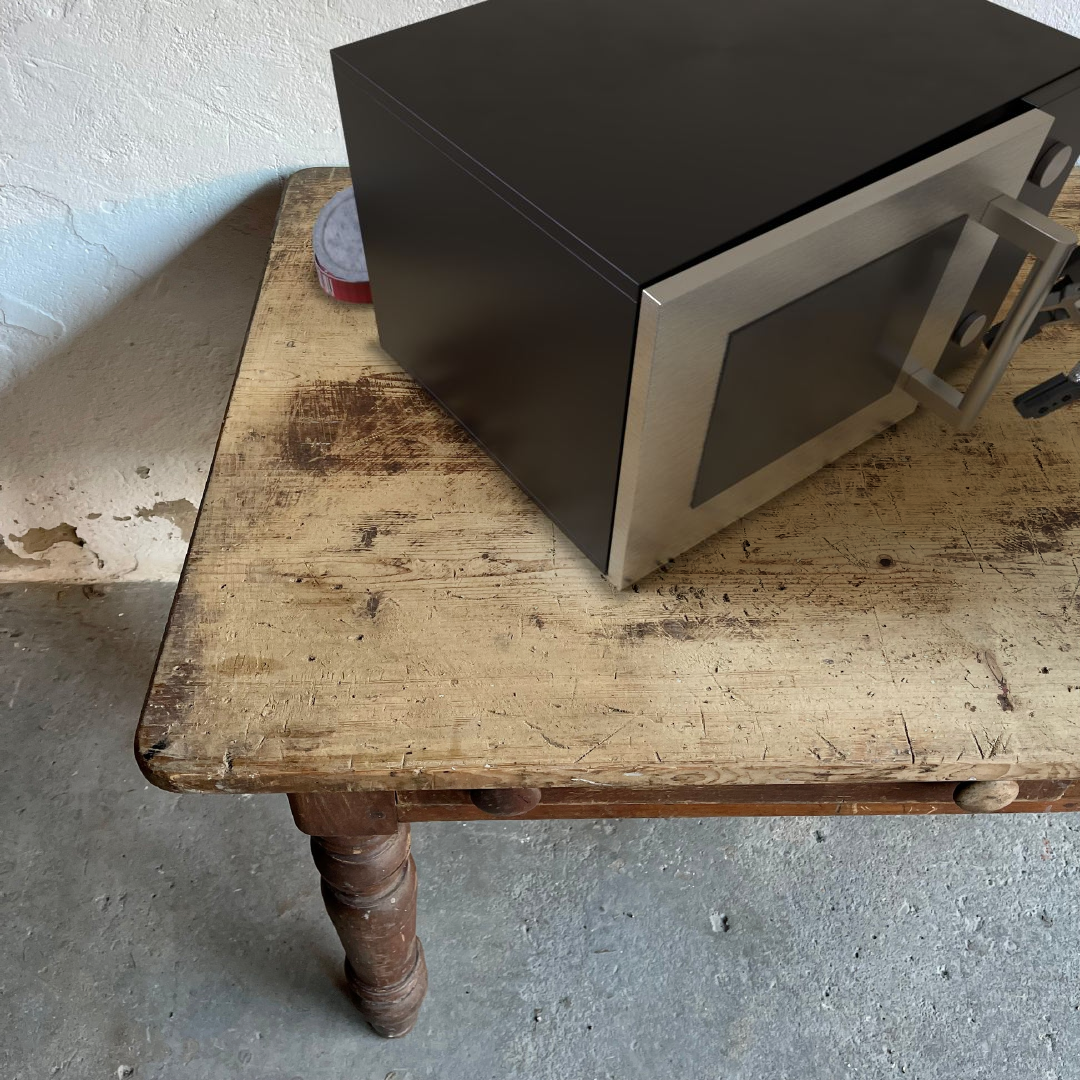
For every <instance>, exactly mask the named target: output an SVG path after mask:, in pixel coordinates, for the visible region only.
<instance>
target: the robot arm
mask: <svg viewBox="0 0 1080 1080" xmlns="http://www.w3.org/2000/svg"><path fill="white" fill-rule="evenodd" d="M1058 280H1059V281H1058ZM1004 320H1005V318H1004V319H1003V320H1001V321H999V322H997V323H996V324H994V325H991V326H990V328H989V330H988V331H987V333H986V334H985V335H984V336H983V337H982V341H983V342H982V344H983V345H984V347H985V348H986V350H987V351H988V350H989V348H990V346H991V344H992V342H993V340H994V338H995V336H996V335H997V333H998V331H999V329H1000V327H1001V325H1002V323H1003V321H1004ZM1069 323H1072V324H1075V325H1080V244H1079V245H1078V246H1076V247H1075V248H1074V250H1073V252H1072V253H1071V255H1070V257H1069V259H1068V260H1067V262H1066V264H1065V266H1064V267H1063V269H1062V271H1061V273H1060V275H1059V276H1058V278H1057V280H1056V282H1055V283H1054V285H1053V287H1052V289H1051V290H1050V292H1049V294H1048V296H1047V297H1046V299H1045V301H1044V303H1043V305H1042V306H1041V308H1040V310H1039V312H1038V313H1037V315H1036V317H1035V319H1034V320H1033V322H1032V324H1031V326H1030V328H1029V329H1028V331H1027V333H1026V335H1025V336H1024V338H1023V340H1022V342H1021V343H1020V345H1021V344H1023V343H1024V342H1026V341H1028V340H1030V339H1031V338H1034V337H1035V336H1037V335H1039V334H1040V333H1042V332H1043V329H1042V328H1041V327H1043V328H1049V327H1053V326H1054V327H1055V326H1059V325H1064V324H1069ZM1078 400H1080V360H1079V361H1078V362H1077V363H1076V364H1075V365H1074V366H1073V367H1072V369H1070V371H1069V372H1068V374H1067V375H1066V374H1065V373H1064V371H1062V372H1060V373H1057V374H1056V375H1054V376H1052V377H1050V378H1049V379H1047V380H1045V381H1043V382H1041V383H1039V384H1037V385H1035V386H1033V387H1032V388H1029V389H1028V390H1026V391H1024V392H1022V393H1020V394H1018V395H1016V396H1015V397H1014V398H1013V399H1012V404H1013V406H1014V408H1015V410H1016V412H1018V414H1019V415H1020V416H1021V418H1022V419H1023V420H1028V419H1029V420H1030V419H1032V418H1033V419H1035V420H1037V419H1041V418H1044V417H1046V416H1048V415H1050V414H1052V413H1054V412H1056V411H1058V410H1059V409H1061V408H1063V407H1066V406H1067V405H1070V404H1071V403H1073V402H1075V401H1078Z"/></svg>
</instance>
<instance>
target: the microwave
mask: <svg viewBox="0 0 1080 1080" xmlns="http://www.w3.org/2000/svg"><path fill="white" fill-rule="evenodd" d="M329 56H330V60H331V68H332V69H331V70H332V74H333V75H332V76H333V80H334V86H335V91H336V98H337V105H338V109H339V116H340V121H341V127H342V132H343V133H342V134H343V138H344V144H345V150H346V156H347V162H348V166H349V173H350V178H351V183H352V184H351V185H353V191H354V197H355V202H356V208H357V214H358V220H359V226H360V231H361V237H362V243H363V249H364V254H365V260H366V266H367V272H368V278H369V283H370V289H371V295H372V301H373V302H372V306H373V312H374V317H375V323H376V329H377V334H378V335H377V336H378V340H379V346H380V347H381V349H382V350H383V351H384V352H385V353H386V354H387V355H388V356H389V357H390V359H392V360H393V361H394V362H395V363H396V364H397V365H398V366H399V367H400V368H401V369H402V371H404V372H405V373H406V374H407V375H408V376H409V377H410V378H411V379H412V380H413V381H414V382H415V383H416V384H417V386H418V387H420V388H421V390H422V391H424V393H425V394H426V395H427V396H429V398H430V399H431V400H432V401H433V402H434V403H435V404H436V405H437V406H438V407H439V408H440V409H441V410H442V411H443V412H444V413H445V414H446V415H447V416H448V417H449V418H450V419H451V420H452V421H453V422H454V423H455V424H456V425H457V426H458V427H459V428H460V430H461V431H462V432H464V433H465V434H466V435H467V436H468V438H469V439H470V440H471V441H472V442H473V443H474V444H475V445H476V446H477V447H478V448H479V449H480V450H481V451H482V452H483V453H484V454H485V455H486V456H487V457H488V459H490V460H491V462H493V463H494V464H495V465H496V466H497V467H498V469H500V470H501V471H502V472H503V473H504V474H505V475H506V476H507V478H509V479H510V481H511V482H512V483H513V484H515V485H516V486H517V488H519V490H520V492H522V493H523V494H524V495H525V496H526V497H527V498H528V499H529V500H530V501H531V502H532V503H533V504H534V505H535V506H536V507H537V508H538V510H540V511H541V512H542V514H544V515H545V516H546V517H547V518H548V519H549V520H550V521H551V523H552V524H553V525H554V526H556V528H557V529H558V530H559V531H560V532H561V533H562V534H563V535H564V536H565V537H566V538H567V539H568V540H569V541H570V542H571V543H572V544H573V545H574V546H575V547H576V548H577V549H578V550H579V551H580V552H581V553H582V554H583V555H584V557H586V558H587V559H588V560H589V561H590V562H591V563H592V565H594V566H595V567H596V569H598V570H599V572H601V574H602V575H603V576H606V575H608V569H609V561H610V553H611V544H612V536H613V528H614V520H615V512H616V504H617V495H618V487H619V479H620V471H621V463H622V455H623V446H624V438H625V430H626V422H627V414H628V406H629V398H630V389H631V381H632V373H633V365H634V357H635V349H636V340H637V332H638V324H639V316H640V308H641V300H642V291H643V289H646V288H648V287H650V286H652V285H654V284H656V283H659V282H661V281H663V280H665V279H667V278H669V277H671V276H674V275H676V274H678V273H680V272H682V271H684V270H687V269H689V268H691V267H693V266H695V265H697V264H700V263H702V262H704V261H706V260H708V259H710V258H713V257H715V256H717V255H719V254H721V253H723V252H726V251H728V250H730V249H732V248H734V247H736V246H739V245H741V244H743V243H745V242H747V241H749V240H752V239H754V238H756V237H758V236H760V235H762V234H764V233H767V232H769V231H771V230H773V229H775V228H777V227H780V226H782V225H784V224H786V223H788V222H790V221H793V220H795V219H797V218H799V217H801V216H803V215H806V214H808V213H810V212H812V211H814V210H816V209H819V208H821V207H823V206H825V205H827V204H829V203H832V202H834V201H836V200H838V199H840V198H842V197H844V196H847V195H849V194H851V193H853V192H855V191H857V190H860V189H862V188H864V187H866V186H868V185H870V184H873V183H875V182H877V181H879V180H881V179H883V178H886V177H888V176H890V175H892V174H894V173H896V172H899V171H901V170H903V169H905V168H907V167H909V166H912V165H914V164H916V163H918V162H920V161H922V160H924V159H927V158H929V157H931V156H933V155H935V154H937V153H940V152H942V151H944V150H946V149H948V148H950V147H953V146H955V145H957V144H959V143H961V142H963V141H966V140H968V139H970V138H972V137H974V136H976V135H979V134H981V133H983V132H985V131H987V130H989V129H992V128H994V127H996V126H998V125H1000V124H1002V123H1004V122H1007V121H1009V120H1011V119H1013V118H1015V117H1017V116H1020V115H1022V114H1024V113H1026V112H1028V111H1030V110H1033V109H1035V108H1037V109H1039V110H1041V111H1043V112H1045V113H1047V114H1049V115H1051V116H1053V117H1055V120H1054V122H1053V124H1052V126H1051V128H1050V130H1049V132H1048V134H1047V136H1046V138H1045V140H1044V142H1043V145H1042V147H1041V149H1040V151H1039V153H1038V155H1037V157H1036V159H1035V161H1034V163H1033V165H1032V167H1031V169H1030V172H1029V174H1028V176H1027V178H1026V180H1025V182H1024V184H1023V186H1022V188H1021V190H1020V192H1019V194H1018V197H1017V199H1016V200H1018V201H1020V202H1021V203H1023V204H1025V205H1027V206H1028V207H1030V208H1032V209H1034V210H1036V211H1037V212H1039V213H1041V214H1043V215H1045V216H1046V217H1048V218H1049V215H1050V213H1051V211H1052V210H1053V208H1054V205H1055V204H1056V201H1057V200H1058V198H1059V195H1060V194H1061V192H1062V190H1063V188H1064V186H1065V184H1066V182H1067V181H1068V179H1069V177H1070V175H1071V173H1072V171H1073V170H1074V167H1075V165H1076V163H1077V161H1078V160H1079V157H1080V37H1077V36H1075V35H1072V34H1070V33H1067V32H1065V31H1063V30H1060V29H1058V28H1055V27H1053V26H1051V25H1047V24H1046V23H1043V22H1041V21H1039V20H1036V19H1034V18H1032V17H1029V16H1026V15H1024V14H1022V13H1019V12H1017V11H1014V10H1012V9H1009V8H1007V7H1005V6H1002V5H1000V4H997V3H996V2H992V1H990V0H484V1H483V0H482V1H480V2H477V3H473V4H471V5H466V6H464V7H460V8H457V9H455V10H451V11H448V12H445V13H442V14H439V15H435V16H432V17H429V18H427V19H423V20H420V21H419V20H418V21H417V22H413V23H409V24H407V25H404V26H400V27H396V28H394V29H390V30H388V31H387V30H386V31H384V32H381V33H378V34H375V35H371V36H369V37H365V38H362V39H359V40H358V39H357V40H355V41H352V42H349V43H346V44H342V45H339V46H337V47H333V48H330V49H329ZM1028 255H1029V253H1028V252H1026V251H1025V250H1023V249H1021V248H1020V247H1018V246H1016V245H1014V244H1013V243H1011V242H1009V241H1008V240H1006V239H1004V238H1003V237H1001V236H998V238H997V240H996V242H995V244H994V246H993V249H992V251H991V253H990V255H989V257H988V259H987V261H986V263H985V265H984V267H983V269H982V271H981V273H980V276H979V278H978V280H977V282H976V284H975V286H974V288H973V290H972V292H971V294H970V296H969V298H968V300H967V303H966V305H965V307H964V309H963V311H962V313H961V315H960V317H959V319H958V321H957V323H956V325H955V328H954V330H953V332H952V334H951V336H950V338H949V340H948V342H947V344H946V346H945V348H944V350H943V352H942V355H941V357H940V359H939V361H938V363H937V365H936V367H935V369H934V371H933V374H935V375H936V376H938V377H939V378H941V377H942V376H944V375H946V373H948V372H950V371H951V370H953V369H955V368H956V367H958V366H959V365H961V364H962V363H964V362H965V361H967V360H968V359H969V358H971V357H972V356H974V355H976V354H977V353H978V351H979V349H980V347H981V346H982V344H983V341H982V337H983V336H984V335H985V334H986V333H988V332H987V331H988V330H989V329H990V328H991V327H992V325H993V322H994V321H995V319H996V317H997V315H998V313H999V311H1000V309H1001V308H1002V305H1003V304H1004V301H1005V300H1006V298H1007V295H1008V294H1009V292H1010V290H1011V288H1012V286H1013V284H1014V282H1015V280H1016V278H1017V276H1018V275H1019V272H1020V270H1021V269H1022V267H1023V265H1024V263H1025V261H1026V259H1027V257H1028Z"/></svg>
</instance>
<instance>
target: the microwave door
mask: <svg viewBox="0 0 1080 1080" xmlns="http://www.w3.org/2000/svg"><path fill="white" fill-rule="evenodd" d="M1054 120H1055V117H1053V116H1051V115H1049V114H1047V113H1045V112H1043V111H1041V110H1039V109H1037V108H1035V109H1033V110H1030V111H1028V112H1026V113H1024V114H1022V115H1020V116H1017V117H1015V118H1013V119H1011V120H1009V121H1007V122H1004V123H1002V124H1000V125H998V126H996V127H994V128H992V129H989V130H987V131H985V132H983V133H981V134H979V135H976V136H974V137H972V138H970V139H968V140H966V141H963V142H961V143H959V144H957V145H955V146H953V147H950V148H948V149H946V150H944V151H942V152H940V153H937V154H935V155H933V156H931V157H929V158H927V159H924V160H922V161H920V162H918V163H916V164H914V165H912V166H909V167H907V168H905V169H903V170H901V171H899V172H896V173H894V174H892V175H890V176H888V177H886V178H883V179H881V180H879V181H877V182H875V183H873V184H870V185H868V186H866V187H864V188H862V189H860V190H857V191H855V192H853V193H851V194H849V195H847V196H844V197H842V198H840V199H838V200H836V201H834V202H832V203H829V204H827V205H825V206H823V207H821V208H819V209H816V210H814V211H812V212H810V213H808V214H806V215H803V216H801V217H799V218H797V219H795V220H793V221H790V222H788V223H786V224H784V225H782V226H780V227H777V228H775V229H773V230H771V231H769V232H767V233H764V234H762V235H760V236H758V237H756V238H754V239H752V240H749V241H747V242H745V243H743V244H741V245H739V246H736V247H734V248H732V249H730V250H728V251H726V252H723V253H721V254H719V255H717V256H715V257H713V258H710V259H708V260H706V261H704V262H702V263H700V264H697V265H695V266H693V267H691V268H689V269H687V270H684V271H682V272H680V273H678V274H676V275H674V276H671V277H669V278H667V279H665V280H663V281H661V282H659V283H656V284H654V285H652V286H650V287H648V288H646V289H643V291H642V300H641V308H640V316H639V324H638V332H637V340H636V349H635V357H634V365H633V373H632V381H631V389H630V398H629V406H628V414H627V422H626V430H625V438H624V446H623V455H622V463H621V471H620V479H619V487H618V495H617V504H616V512H615V520H614V528H613V536H612V544H611V553H610V561H609V569H608V574H607V579H608V581H610V583H611V584H612V585H613V586H614V587H615V588H616V589H617V590H618V592H621V591H623V590H624V589H626V588H628V587H629V586H631V585H632V584H634V583H636V582H637V581H639V580H640V579H642V578H645V576H647V575H649V574H651V573H652V572H653V571H655V570H657V569H659V568H660V567H662V566H663V565H665V564H667V563H668V562H670V561H672V560H674V559H675V558H677V557H679V556H680V555H682V554H683V553H685V552H686V551H688V550H690V549H691V548H693V547H695V546H697V545H698V544H700V543H701V542H703V541H704V540H706V539H708V538H709V537H711V536H713V535H714V534H716V533H718V532H719V531H721V530H723V529H724V528H726V527H728V526H729V525H730V524H731V525H732V524H733V523H734V522H736V521H738V520H739V519H741V518H742V517H744V516H746V515H747V514H749V513H750V512H752V511H754V510H755V509H757V508H759V507H760V506H762V505H763V504H765V503H767V502H768V501H771V500H772V499H773V498H776V497H777V496H778V495H781V493H783V492H785V491H786V490H788V489H790V488H791V487H793V486H795V485H797V484H799V482H801V481H803V480H805V479H806V478H808V477H809V476H811V475H813V474H814V473H816V472H817V471H819V470H821V469H823V468H824V467H826V466H828V465H830V464H831V463H833V462H834V461H836V460H837V459H839V458H840V457H842V456H844V455H846V454H847V453H849V452H850V451H852V450H854V449H856V448H857V447H859V446H860V445H862V444H864V443H865V442H867V441H868V440H870V439H872V438H874V437H875V436H876V435H878V434H880V433H882V432H884V431H885V430H886V429H888V428H890V427H892V426H893V425H894V424H897V423H898V422H900V421H901V420H903V419H904V418H907V417H908V416H909V415H911V414H912V413H914V412H915V411H916V409H917V406H918V404H921V405H922V406H924V407H926V408H927V409H928V410H929V411H931V412H932V413H933V414H935V415H936V416H937V417H939V418H940V419H941V420H943V421H945V422H946V423H947V424H948V425H950V426H951V427H952V428H954V429H955V430H957V431H960V432H970V431H971V430H973V428H974V427H975V425H976V423H977V421H978V419H979V418H980V416H981V414H982V413H983V410H984V409H985V407H986V405H987V404H988V402H989V400H990V398H991V396H992V395H993V393H994V391H995V390H996V387H997V386H998V384H999V382H1000V380H1001V379H1002V377H1003V375H1004V373H1005V372H1006V370H1007V368H1008V366H1009V364H1010V363H1011V361H1012V359H1013V358H1014V356H1015V354H1016V353H1017V350H1018V349H1019V348H1020V345H1021V344H1022V343H1021V342H1022V340H1023V338H1024V336H1025V335H1026V333H1027V331H1028V329H1029V328H1030V326H1031V324H1032V322H1033V320H1034V319H1035V317H1036V315H1037V313H1038V312H1039V310H1040V308H1041V306H1042V305H1043V303H1044V301H1045V299H1046V297H1047V296H1048V294H1049V292H1050V290H1051V289H1052V287H1053V285H1054V284H1056V283H1057V281H1058V280H1057V278H1058V276H1059V275H1060V273H1061V271H1062V269H1063V267H1064V266H1065V264H1066V262H1067V260H1068V259H1069V257H1070V255H1071V253H1072V252H1073V250H1074V249H1075V248H1076V247H1077V245H1078V243H1079V240H1080V237H1079V235H1078V234H1077V233H1076V232H1074V231H1073V230H1071V229H1069V228H1068V227H1066V226H1064V225H1063V224H1060V223H1059V222H1057V221H1056V220H1054V219H1052V218H1050V217H1049V216H1048V217H1046V216H1045V215H1043V214H1041V213H1039V212H1037V211H1036V210H1034V209H1032V208H1030V207H1028V206H1027V205H1025V204H1023V203H1021V202H1020V201H1018V200H1016V199H1017V197H1018V194H1019V192H1020V190H1021V188H1022V186H1023V184H1024V182H1025V180H1026V178H1027V176H1028V174H1029V172H1030V169H1031V167H1032V165H1033V163H1034V161H1035V159H1036V157H1037V155H1038V153H1039V151H1040V149H1041V147H1042V145H1043V142H1044V140H1045V138H1046V136H1047V134H1048V132H1049V130H1050V128H1051V126H1052V124H1053V122H1054ZM998 236H1001V237H1003V238H1004V239H1006V240H1008V241H1009V242H1011V243H1013V244H1014V245H1016V246H1018V247H1020V248H1021V249H1023V250H1025V251H1026V252H1028V254H1030V255H1032V256H1033V257H1035V258H1036V259H1035V261H1034V263H1033V265H1032V267H1031V269H1030V271H1029V273H1028V275H1027V276H1026V278H1025V280H1024V281H1023V284H1022V285H1021V288H1020V289H1019V291H1018V293H1017V295H1016V297H1015V299H1014V301H1013V303H1012V304H1011V307H1010V308H1009V310H1008V312H1007V314H1006V316H1005V318H1004V319H1005V320H1004V319H1003V320H1004V321H1003V320H1002V321H1003V323H1002V325H1001V327H1000V329H999V331H998V333H997V335H996V336H995V338H994V340H993V342H992V344H991V346H990V348H989V350H987V352H986V354H985V355H984V357H983V359H982V361H981V363H980V365H979V366H978V368H977V370H976V372H975V374H974V376H973V378H972V380H971V382H970V383H969V386H968V387H967V389H966V391H965V393H964V394H963V393H962V392H960V391H959V390H957V389H956V388H954V386H952V385H950V384H949V383H947V382H946V381H945V380H944V379H942V378H941V377H938V376H936V375H935V374H933V371H934V369H935V367H936V365H937V363H938V361H939V359H940V357H941V355H942V352H943V350H944V348H945V346H946V344H947V342H948V340H949V338H950V336H951V334H952V332H953V330H954V328H955V325H956V323H957V321H958V319H959V317H960V315H961V313H962V311H963V309H964V307H965V305H966V303H967V300H968V298H969V296H970V294H971V292H972V290H973V288H974V286H975V284H976V282H977V280H978V278H979V276H980V273H981V271H982V269H983V267H984V265H985V263H986V261H987V259H988V257H989V255H990V253H991V251H992V249H993V246H994V244H995V242H996V240H997V238H998ZM1056 280H1057V281H1056ZM1020 343H1021V344H1020Z"/></svg>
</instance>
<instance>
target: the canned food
mask: <svg viewBox="0 0 1080 1080" xmlns="http://www.w3.org/2000/svg"><path fill="white" fill-rule="evenodd" d="M312 250H313V251H314V253H313V261H314V263H315V268H316V273H317V277H318V281H319V284H320V286H321V288H322V290H323V291H324V292H325V293H326V294H328V295H329V296H330V297H332V298H334V299H336V300H339V301H342V302H346V303H351V304H371V303H372V304H373V301H372V295H371V289H370V283H369V278H368V272H367V266H366V260H365V254H364V249H363V243H362V237H361V231H360V226H359V220H358V214H357V208H356V202H355V197H354V191H353V185H352V184H351V185H350V186H348V187H346V188H344V189H341V190H340V191H337V192H336V193H334V195H333V196H332V197H331V198H330V199H329V201H328V202H326V204H325V205H324V206H323V207H322V208H321V209H320V210H319V213H318V215H317V218H316V220H315V223H314V225H313V227H312Z"/></svg>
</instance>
